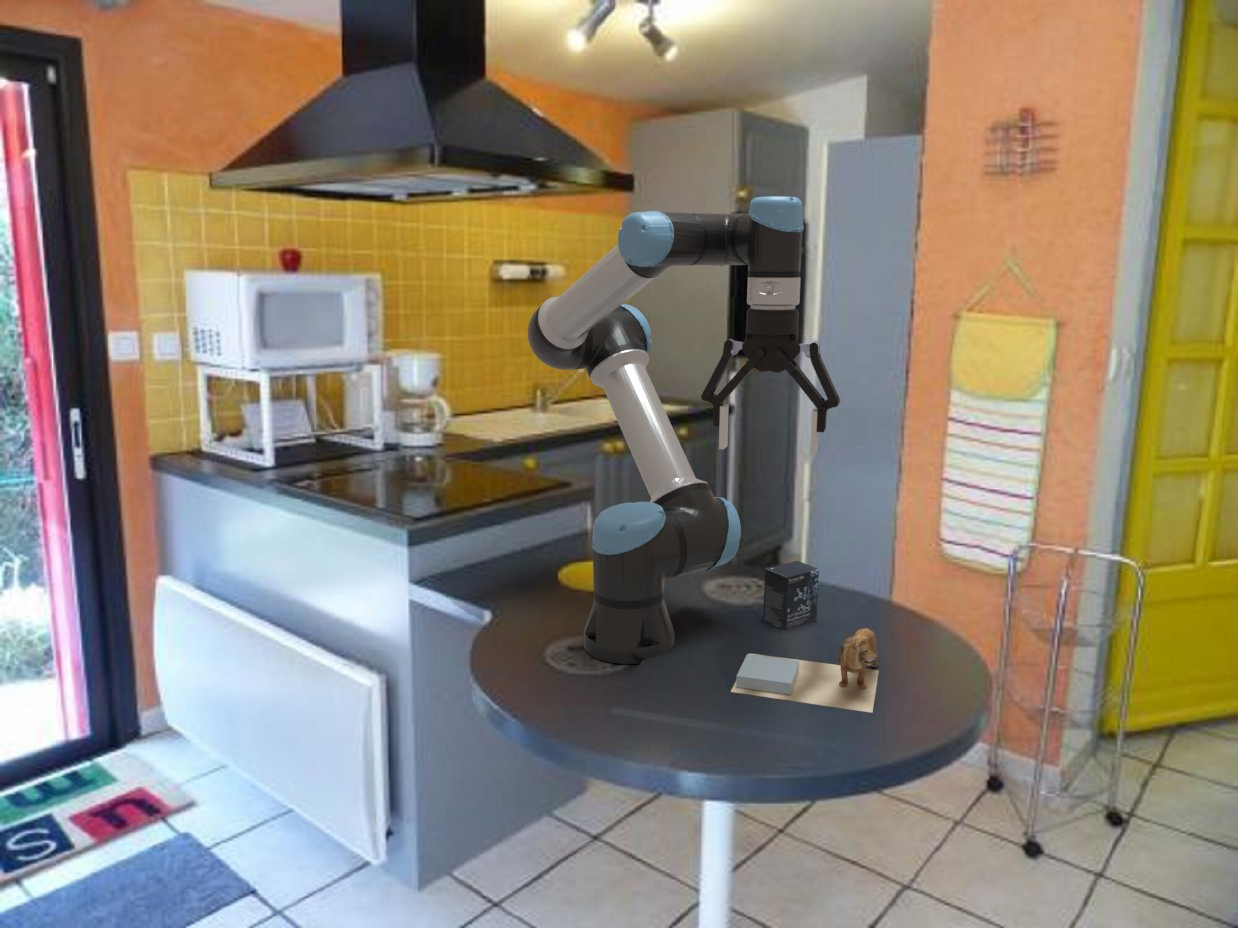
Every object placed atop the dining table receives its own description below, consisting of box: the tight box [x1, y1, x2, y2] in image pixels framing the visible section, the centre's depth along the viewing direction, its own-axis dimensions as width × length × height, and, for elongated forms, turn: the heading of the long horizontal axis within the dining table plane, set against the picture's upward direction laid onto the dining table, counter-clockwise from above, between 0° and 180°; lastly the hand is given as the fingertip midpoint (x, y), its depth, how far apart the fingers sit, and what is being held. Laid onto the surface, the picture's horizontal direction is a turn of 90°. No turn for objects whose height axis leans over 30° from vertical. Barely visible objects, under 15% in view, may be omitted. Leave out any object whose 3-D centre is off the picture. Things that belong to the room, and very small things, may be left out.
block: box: [735, 653, 799, 695], centre depth 136 cm, size 8×2×8 cm
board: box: [730, 653, 880, 714], centre depth 136 cm, size 20×14×1 cm
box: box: [762, 560, 820, 631], centre depth 158 cm, size 8×6×11 cm
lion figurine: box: [838, 627, 878, 689], centre depth 135 cm, size 15×5×9 cm, turn 161°
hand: (767, 450), depth 136 cm, fingers open, 13 cm apart
